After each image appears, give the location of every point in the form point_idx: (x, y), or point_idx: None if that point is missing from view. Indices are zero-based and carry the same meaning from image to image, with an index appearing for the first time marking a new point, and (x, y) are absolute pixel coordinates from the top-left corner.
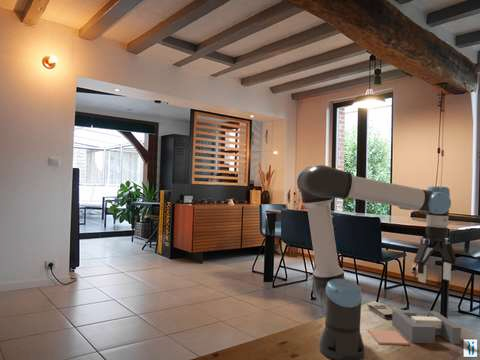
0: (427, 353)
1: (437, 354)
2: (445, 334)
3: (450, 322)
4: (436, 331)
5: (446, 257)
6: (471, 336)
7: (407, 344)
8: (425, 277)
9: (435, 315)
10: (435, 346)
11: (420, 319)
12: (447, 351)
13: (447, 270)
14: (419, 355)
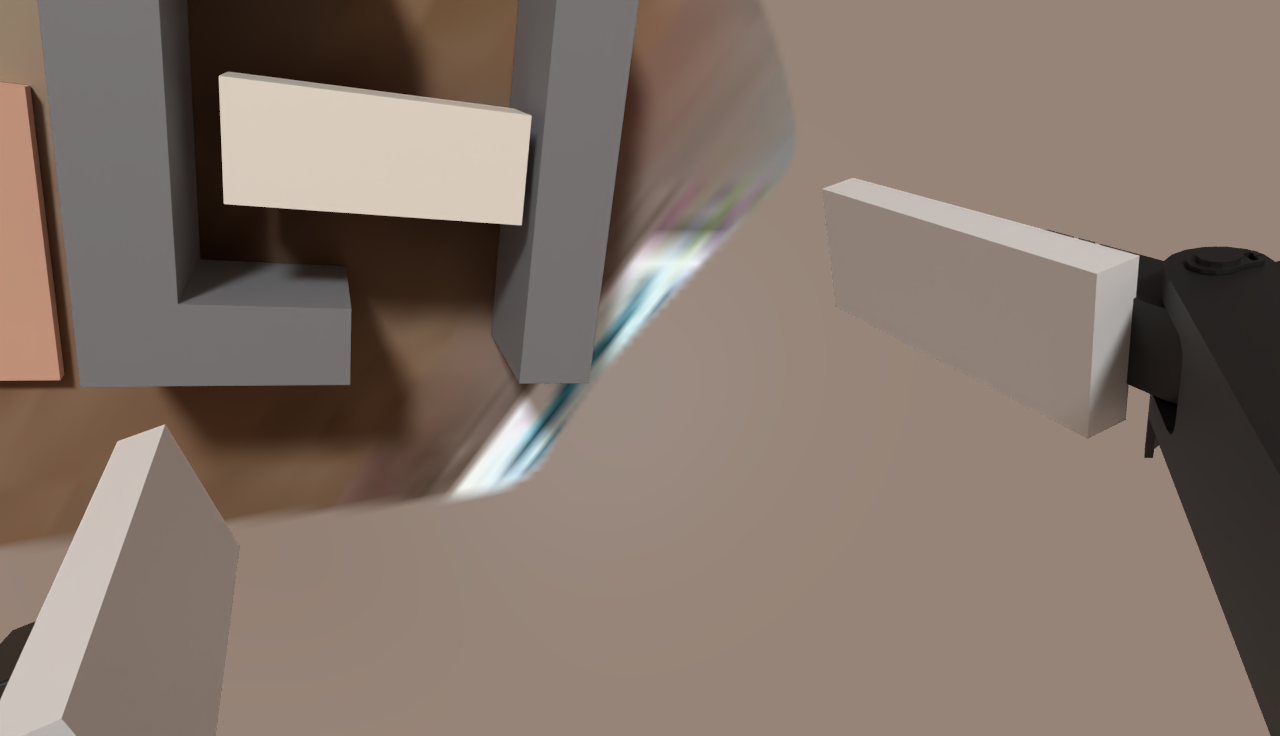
0: None
1: (255, 505)
2: (505, 250)
3: (582, 265)
4: None
5: (1207, 495)
6: (737, 201)
7: (46, 375)
8: (219, 624)
9: (552, 74)
10: None
11: (293, 189)
12: (369, 453)
13: (955, 321)
14: None
